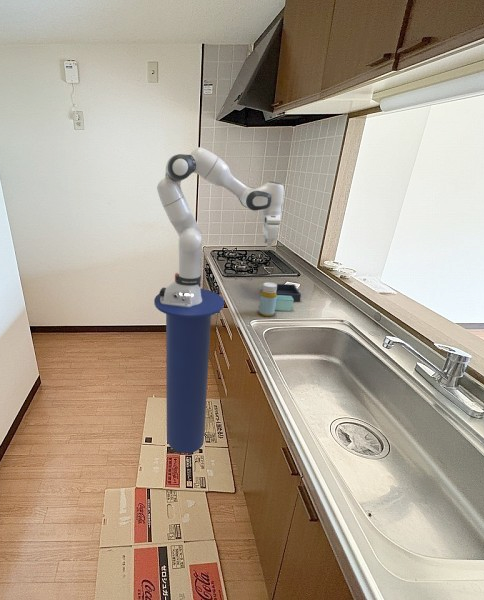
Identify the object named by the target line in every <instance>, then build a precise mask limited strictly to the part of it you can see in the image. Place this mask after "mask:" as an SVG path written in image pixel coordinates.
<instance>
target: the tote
mask: <svg viewBox="0 0 484 600" xmlns="http://www.w3.org/2000/svg"><path fill="white" fill-rule="evenodd" d="M276 284H277V290H276V293H277V295H284V296H292V298H293V299H294V301H293V302H294V303H295V302H297V303H298V302H299V303H300V302H301V297H302V294H301V292H300V291H299V289H298V288H297V287H296V284H288V283H276Z"/></svg>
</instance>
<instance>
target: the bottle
mask: <svg viewBox="0 0 484 600" xmlns="http://www.w3.org/2000/svg"><path fill="white" fill-rule="evenodd" d="M277 284H278V283H275V282H271V281H269V282H264V283H263V284H262V291H261V292H260V298H259V299H260V301H259V309H258V313H259V314H260V316H263V317H268V318H269V317H272V316H274V315H275V311H276V310H275V305H276V298H277V293H276V290H277Z"/></svg>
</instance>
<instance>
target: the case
mask: <svg viewBox="0 0 484 600" xmlns="http://www.w3.org/2000/svg"><path fill="white" fill-rule="evenodd" d="M294 302H295V301H294V299H293V298H292V296H284V295H277V298H276V305H275V311H280V312H281V311H282V312H283V311H284V312H292V311H293V306H294Z"/></svg>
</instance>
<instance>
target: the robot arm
mask: <svg viewBox="0 0 484 600" xmlns="http://www.w3.org/2000/svg"><path fill="white" fill-rule="evenodd" d="M165 165H166V166H165V175H164V176H165V177H164V178H163V179H161V180H160V181H158V183H157V185H156V190H157V194H158V197H159V200H160V202H161V205H162V207H163V210H164V212H165V213H166V215H167V217H168V220H169V222H170V223H171V225H172V227H173V228H174V230H175V232H176V234H177V236H178V272H176V273H174V281H173V282H171V283H170V284H168V285H167V286H166V287H162V288H161V289H159V292H158V294H160V296H161V297H160V302H161V304H165V305H172V306H180V307H191V306H194V305H198V304H200V303H201V302H202V297H201V290H200V289H201V286H202V275H201V267H202V250H203V249H202V248H203V247H202V246H203V235H202V230H201V228H200V226H199V224H198V222H197V220H196V219H195V216H194V214H193V212H192V210H191V208H190V206H189V204H188V200H187V199H186V197H185V194H184V193H183V190H182V186H181V183H182V181H183V180H185V179H187V178H189V177H190V176H191V175H192V174H197V175H198V176H199V177H201V178H202V179H204V180H205V181H207V182H208V183H210V184H212V185H214V186H218V187H222V188H225V189H226V190H227V191H229V192H230V193H232V194H233V195H234V196H236V198H238V200H239V202H240V204H241V205H242V207H244V208H246V209H248V210H250V211H253V212H255V211H261V219H260V220H261V222H263V224H262V233H263V234H264V235H263V239H264V240H263V243H264V244H266V247H267V249H271V248H272V244H273V241H276V239H277V238H278V232H279V227H280V225H281V222H282V205H283V203H284V195H285V187H284V185H283V184H282V183H281V182H276V181H267V182H266V183H264V184H263V185H260V186H259V187H253V186H248V185H245V184H244V183H243V182H241V181H240V180H238V179H237V178H236V177H234V176H233V174H232V172H231V170H230V167H229V165H228V164H227V163H226V162H225V161H224V160H223V159H222V158H220V157H219V156H218V155H216V154H215V153H213V152H211V151H210V150H208V149H206V148H204V147H201V146H199V147H198V146H197V147H196V148H195V149H194V148H193V150H192V151H191V153H190V154H185V153H183V154H181V153H179V154H174V155H173V156H170V158H169V159H168V160H167V163H166V164H165Z"/></svg>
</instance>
